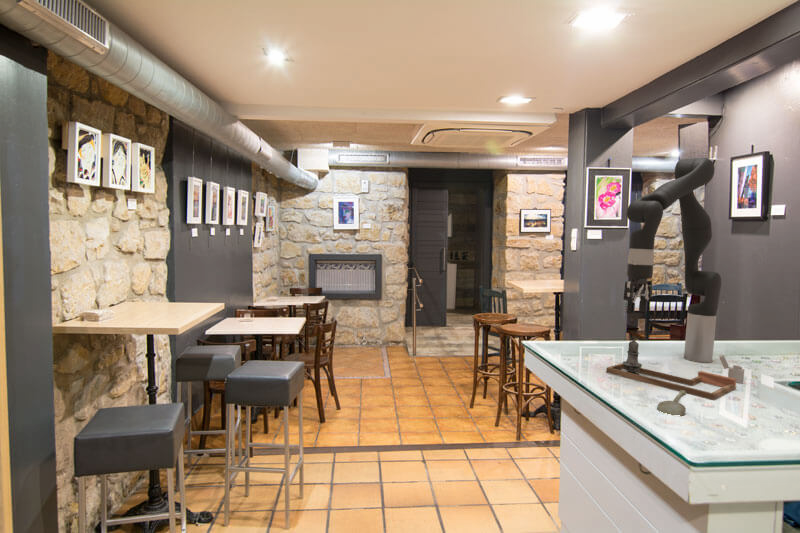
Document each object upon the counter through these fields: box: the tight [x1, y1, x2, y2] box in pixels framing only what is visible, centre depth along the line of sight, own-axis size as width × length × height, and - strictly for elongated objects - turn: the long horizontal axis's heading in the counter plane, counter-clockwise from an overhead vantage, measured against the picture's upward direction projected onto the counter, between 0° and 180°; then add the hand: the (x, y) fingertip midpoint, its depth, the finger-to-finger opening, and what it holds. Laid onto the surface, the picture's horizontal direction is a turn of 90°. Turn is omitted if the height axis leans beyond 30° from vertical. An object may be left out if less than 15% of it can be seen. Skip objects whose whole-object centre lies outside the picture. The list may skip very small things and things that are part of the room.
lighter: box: [718, 354, 745, 385], centre depth 163 cm, size 7×2×8 cm, turn 56°
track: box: [605, 362, 737, 401], centre depth 162 cm, size 18×32×3 cm, turn 40°
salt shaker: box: [622, 338, 643, 375], centre depth 166 cm, size 6×6×12 cm
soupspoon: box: [657, 390, 687, 417], centre depth 140 cm, size 22×3×7 cm
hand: (636, 312), depth 165 cm, fingers open, 8 cm apart
